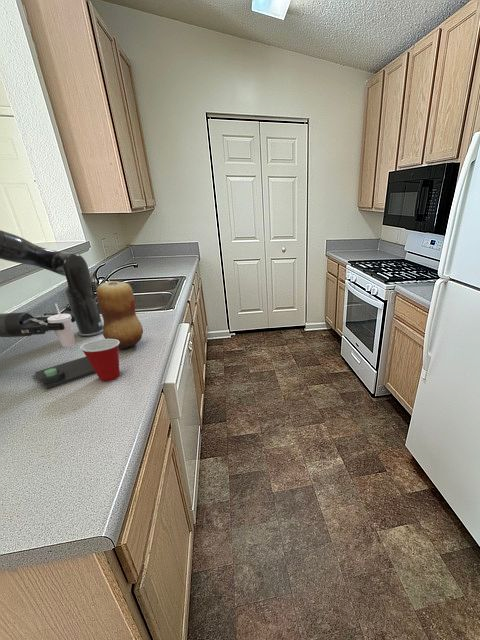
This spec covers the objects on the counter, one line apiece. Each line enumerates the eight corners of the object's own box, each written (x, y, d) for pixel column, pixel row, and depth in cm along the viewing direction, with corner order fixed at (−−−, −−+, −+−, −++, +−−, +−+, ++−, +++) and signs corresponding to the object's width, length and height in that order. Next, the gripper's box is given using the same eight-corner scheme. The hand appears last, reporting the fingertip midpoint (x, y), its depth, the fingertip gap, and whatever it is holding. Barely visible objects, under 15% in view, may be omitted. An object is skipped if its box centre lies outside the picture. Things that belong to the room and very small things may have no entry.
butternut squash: (142, 351, 124) (125, 285, 113) (104, 356, 122) (82, 289, 111) (149, 337, 136) (134, 277, 125) (114, 341, 134) (95, 279, 123)
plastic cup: (136, 371, 111) (126, 338, 105) (110, 387, 102) (98, 352, 96) (111, 367, 114) (100, 334, 109) (83, 382, 105) (70, 348, 99)
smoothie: (69, 349, 106) (54, 307, 99) (52, 347, 107) (36, 306, 101) (84, 341, 111) (71, 301, 105) (68, 340, 112) (54, 300, 106)
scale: (35, 375, 110) (32, 367, 108) (88, 358, 120) (86, 351, 119) (47, 390, 101) (43, 381, 100) (103, 370, 112) (100, 363, 110)
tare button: (44, 375, 104) (43, 370, 104) (56, 371, 106) (54, 367, 106) (47, 378, 102) (45, 373, 102) (59, 374, 104) (57, 370, 104)
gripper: (-9, 321, 96) (53, 318, 98) (22, 306, 109) (76, 304, 111) (2, 345, 99) (61, 341, 101) (30, 328, 112) (82, 325, 114)
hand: (68, 322), depth 106 cm, fingers closed on smoothie, 6 cm apart
